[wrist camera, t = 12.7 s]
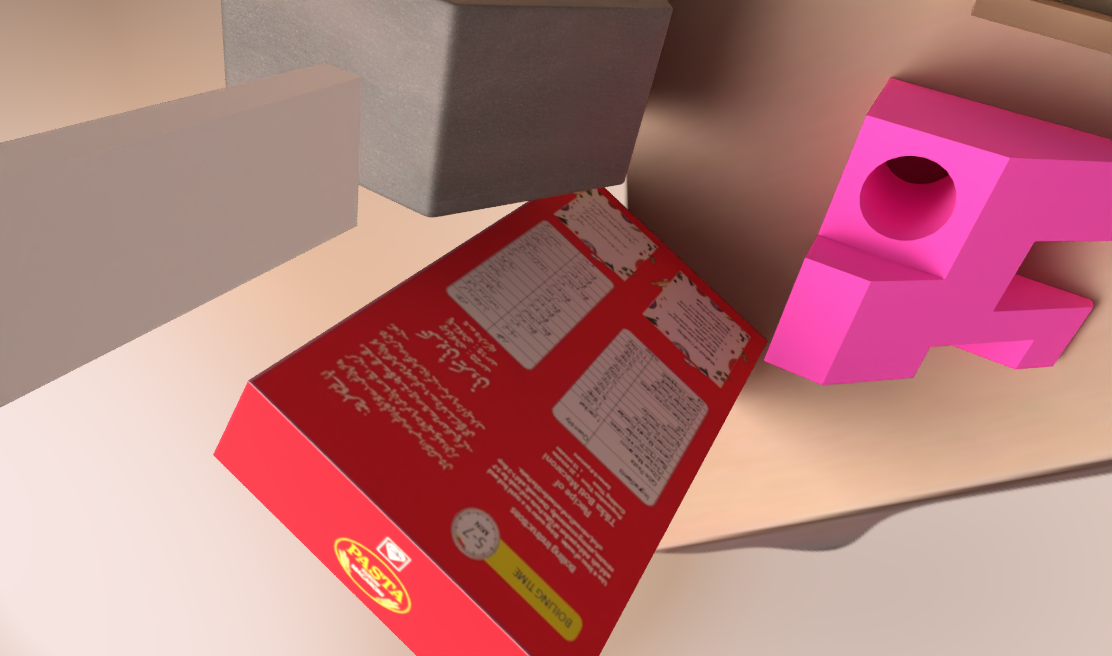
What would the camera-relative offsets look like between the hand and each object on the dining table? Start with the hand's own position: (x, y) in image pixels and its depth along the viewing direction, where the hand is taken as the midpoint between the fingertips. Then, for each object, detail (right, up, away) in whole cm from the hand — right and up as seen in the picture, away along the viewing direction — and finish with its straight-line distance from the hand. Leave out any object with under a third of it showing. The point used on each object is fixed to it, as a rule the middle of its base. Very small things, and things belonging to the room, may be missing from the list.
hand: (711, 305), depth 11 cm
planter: (-3, +17, +30) cm, 34 cm away
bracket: (+18, +5, +25) cm, 31 cm away
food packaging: (+3, +3, +34) cm, 34 cm away
